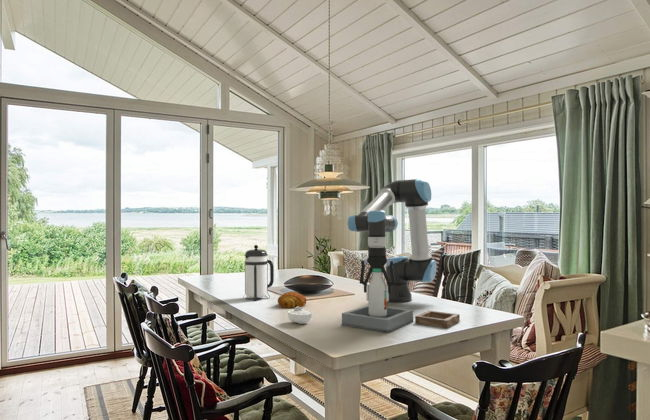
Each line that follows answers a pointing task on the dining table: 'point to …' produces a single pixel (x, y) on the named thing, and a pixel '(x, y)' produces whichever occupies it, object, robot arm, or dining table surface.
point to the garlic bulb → (299, 315)
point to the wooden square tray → (437, 319)
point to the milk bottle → (377, 294)
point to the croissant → (291, 300)
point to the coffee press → (257, 273)
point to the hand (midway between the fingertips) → (377, 300)
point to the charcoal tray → (377, 319)
